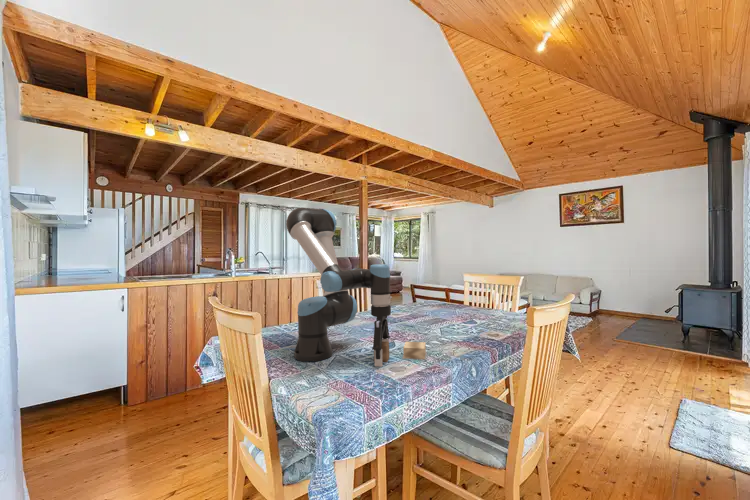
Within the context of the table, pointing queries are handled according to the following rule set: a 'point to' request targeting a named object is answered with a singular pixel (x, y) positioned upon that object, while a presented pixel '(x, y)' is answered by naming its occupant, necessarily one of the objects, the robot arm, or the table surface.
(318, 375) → the table surface
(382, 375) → the table surface
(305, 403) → the table surface
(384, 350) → the walnut block
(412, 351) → the maple base
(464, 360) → the table surface
